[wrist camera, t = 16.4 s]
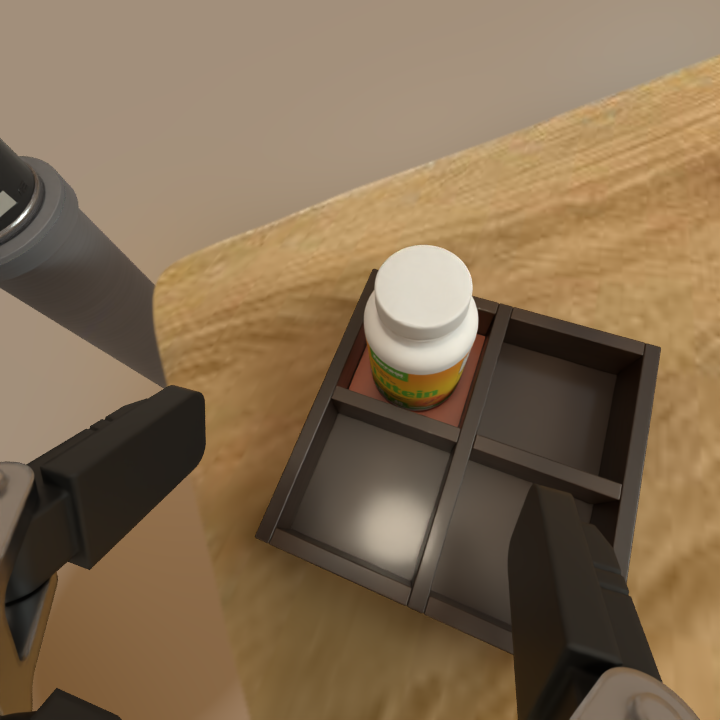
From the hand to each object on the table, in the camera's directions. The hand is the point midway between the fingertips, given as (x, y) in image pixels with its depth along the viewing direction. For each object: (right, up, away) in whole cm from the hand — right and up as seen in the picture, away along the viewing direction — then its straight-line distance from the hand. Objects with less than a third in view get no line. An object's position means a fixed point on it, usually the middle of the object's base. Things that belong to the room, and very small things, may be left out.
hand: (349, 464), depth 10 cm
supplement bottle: (+4, +2, +16) cm, 17 cm away
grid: (+6, -3, +15) cm, 16 cm away
